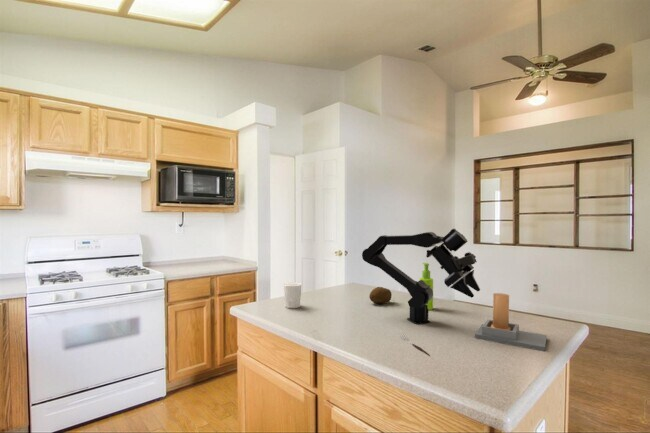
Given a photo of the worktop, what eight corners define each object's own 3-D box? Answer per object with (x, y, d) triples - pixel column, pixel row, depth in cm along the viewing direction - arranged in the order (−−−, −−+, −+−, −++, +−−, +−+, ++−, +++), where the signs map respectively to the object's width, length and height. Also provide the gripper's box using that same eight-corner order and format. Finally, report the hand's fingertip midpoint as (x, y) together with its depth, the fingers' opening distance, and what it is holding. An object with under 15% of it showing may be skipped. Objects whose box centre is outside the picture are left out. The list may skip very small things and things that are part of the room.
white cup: (280, 307, 153) (281, 285, 153) (287, 303, 161) (288, 282, 161) (297, 309, 151) (297, 286, 151) (303, 304, 158) (304, 283, 158)
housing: (474, 337, 117) (474, 326, 117) (482, 327, 128) (482, 317, 128) (544, 351, 106) (544, 339, 106) (546, 338, 116) (546, 327, 116)
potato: (395, 303, 163) (395, 286, 163) (378, 307, 155) (378, 290, 155) (382, 299, 169) (382, 284, 169) (364, 303, 161) (365, 287, 161)
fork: (425, 357, 101) (425, 350, 101) (398, 339, 116) (398, 333, 116) (433, 356, 102) (433, 349, 102) (405, 338, 117) (405, 332, 117)
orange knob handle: (494, 335, 116) (495, 296, 116) (488, 329, 122) (488, 292, 122) (513, 336, 115) (514, 297, 115) (506, 330, 121) (507, 293, 121)
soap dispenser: (430, 306, 157) (431, 262, 157) (434, 310, 151) (434, 264, 150) (417, 305, 158) (418, 262, 158) (420, 309, 151) (420, 264, 151)
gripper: (454, 249, 118) (488, 286, 112) (469, 242, 133) (499, 275, 127) (431, 268, 123) (462, 305, 117) (447, 260, 138) (475, 292, 132)
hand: (476, 293), depth 124 cm, fingers open, 9 cm apart
